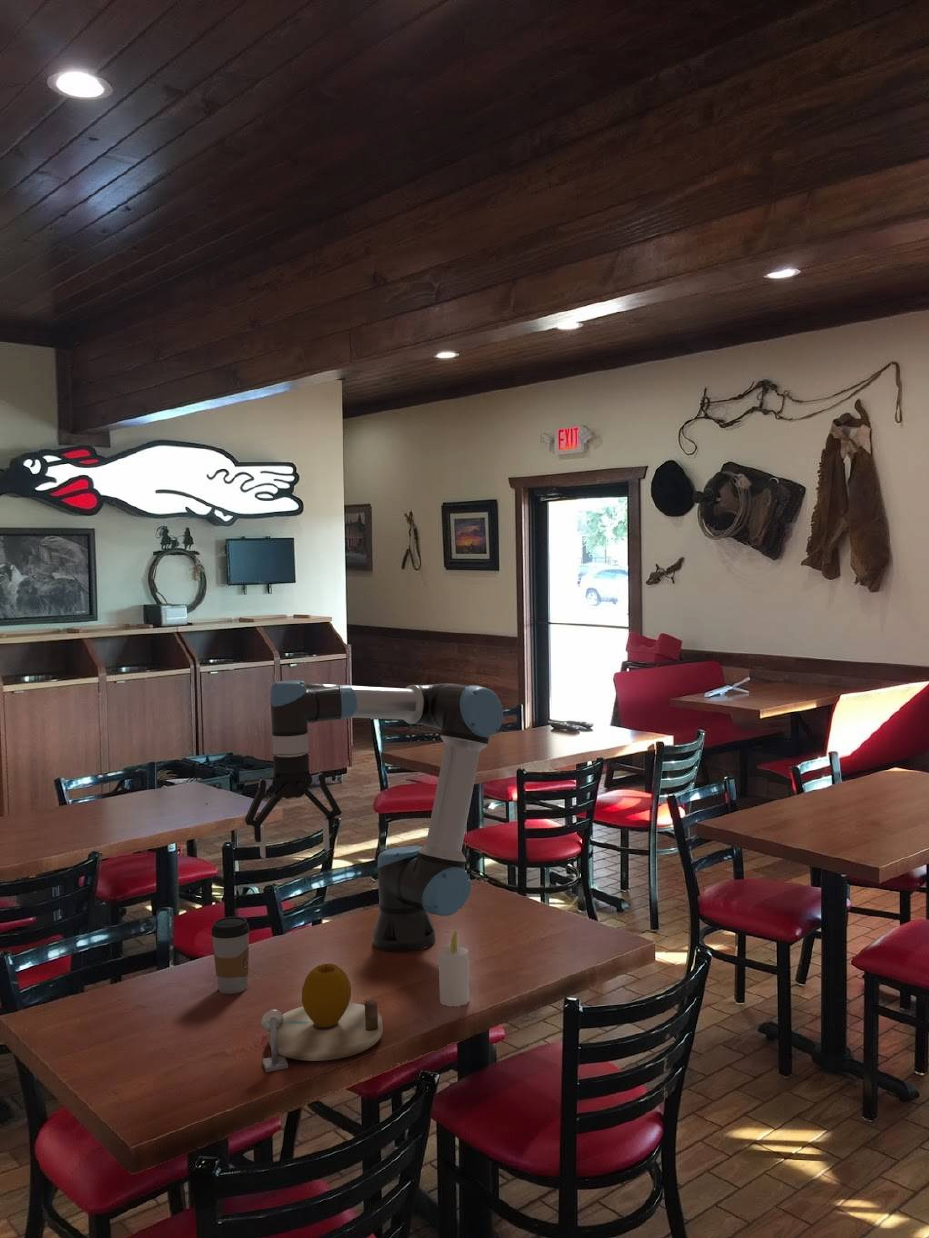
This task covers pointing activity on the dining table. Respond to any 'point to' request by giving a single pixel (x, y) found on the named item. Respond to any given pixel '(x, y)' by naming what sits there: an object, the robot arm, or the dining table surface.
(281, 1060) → the indicator stand
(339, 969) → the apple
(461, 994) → the candle
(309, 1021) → the turntable
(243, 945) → the coffee cup
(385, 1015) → the dining table surface
